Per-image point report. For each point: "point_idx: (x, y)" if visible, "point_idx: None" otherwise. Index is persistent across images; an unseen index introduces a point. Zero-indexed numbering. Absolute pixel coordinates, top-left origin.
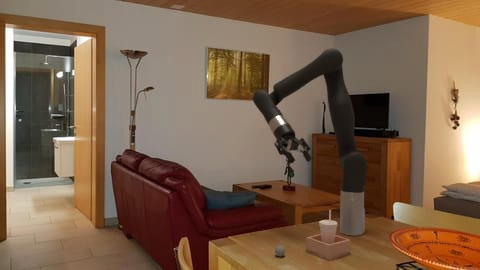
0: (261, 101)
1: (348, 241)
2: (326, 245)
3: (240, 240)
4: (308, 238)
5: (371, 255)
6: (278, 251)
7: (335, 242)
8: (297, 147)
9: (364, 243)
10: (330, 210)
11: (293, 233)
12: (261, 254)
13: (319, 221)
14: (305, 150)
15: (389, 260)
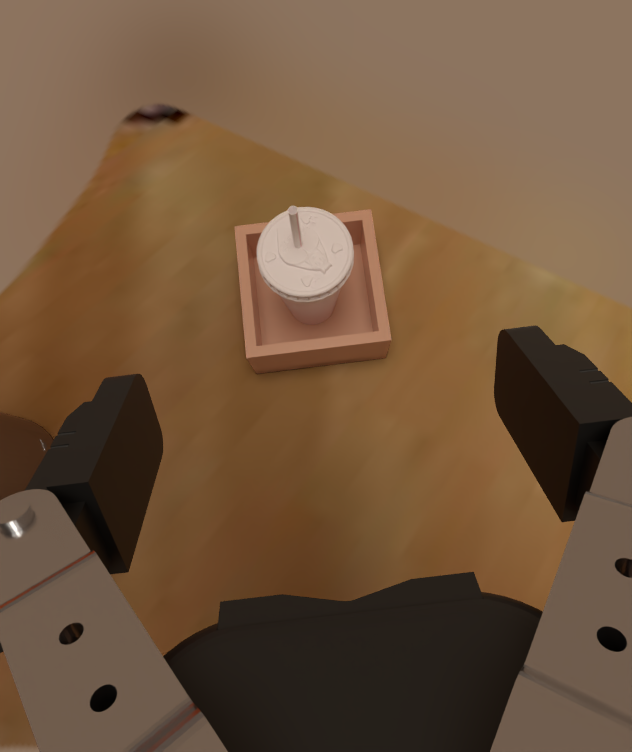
0: None
1: (250, 226)
2: (373, 226)
3: None
4: (389, 327)
5: (183, 212)
6: None
7: (256, 308)
8: (236, 617)
9: (89, 325)
10: (293, 207)
11: None
12: None
13: (337, 282)
14: (64, 515)
15: (169, 152)
